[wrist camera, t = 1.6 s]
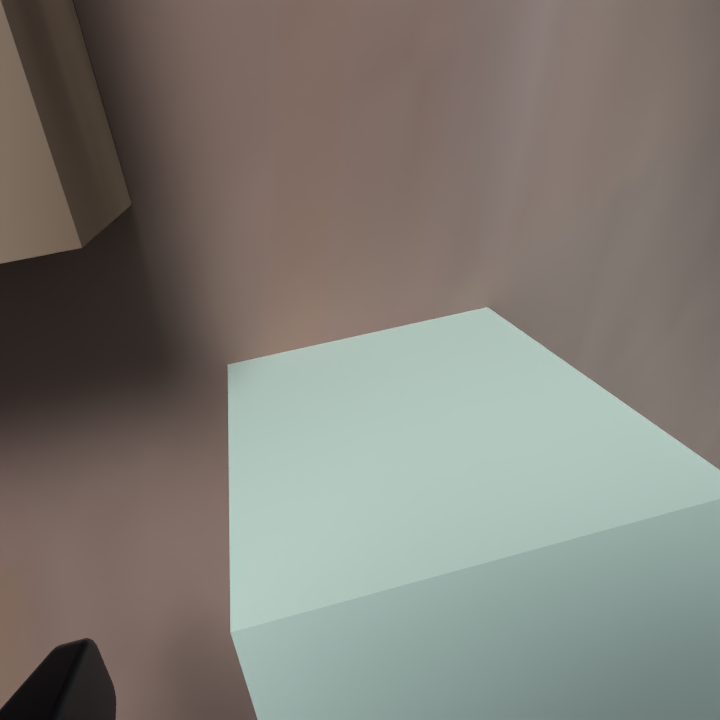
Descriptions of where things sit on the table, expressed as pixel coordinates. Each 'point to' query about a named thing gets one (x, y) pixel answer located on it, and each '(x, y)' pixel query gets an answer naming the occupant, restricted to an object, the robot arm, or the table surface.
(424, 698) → the sage block
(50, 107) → the tan flat block
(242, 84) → the table surface
